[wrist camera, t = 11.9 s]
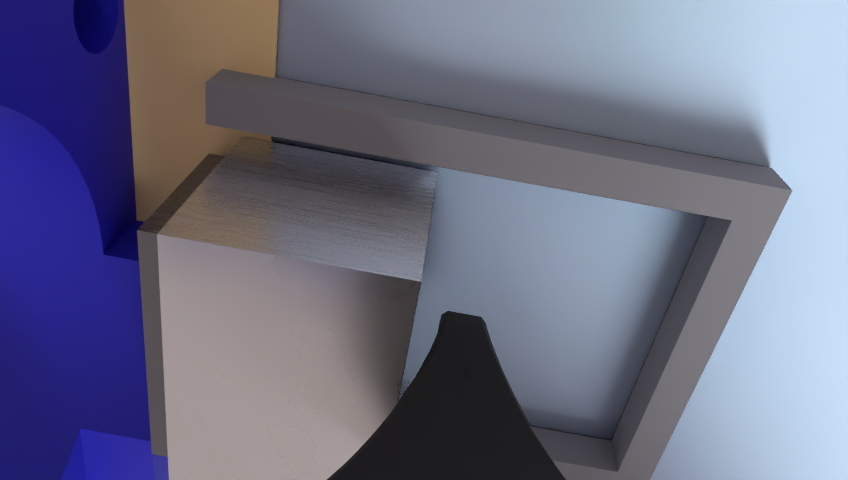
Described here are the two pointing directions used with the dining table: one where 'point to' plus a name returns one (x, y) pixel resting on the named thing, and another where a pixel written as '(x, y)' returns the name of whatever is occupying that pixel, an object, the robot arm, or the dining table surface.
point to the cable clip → (69, 249)
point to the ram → (279, 309)
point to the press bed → (459, 150)
